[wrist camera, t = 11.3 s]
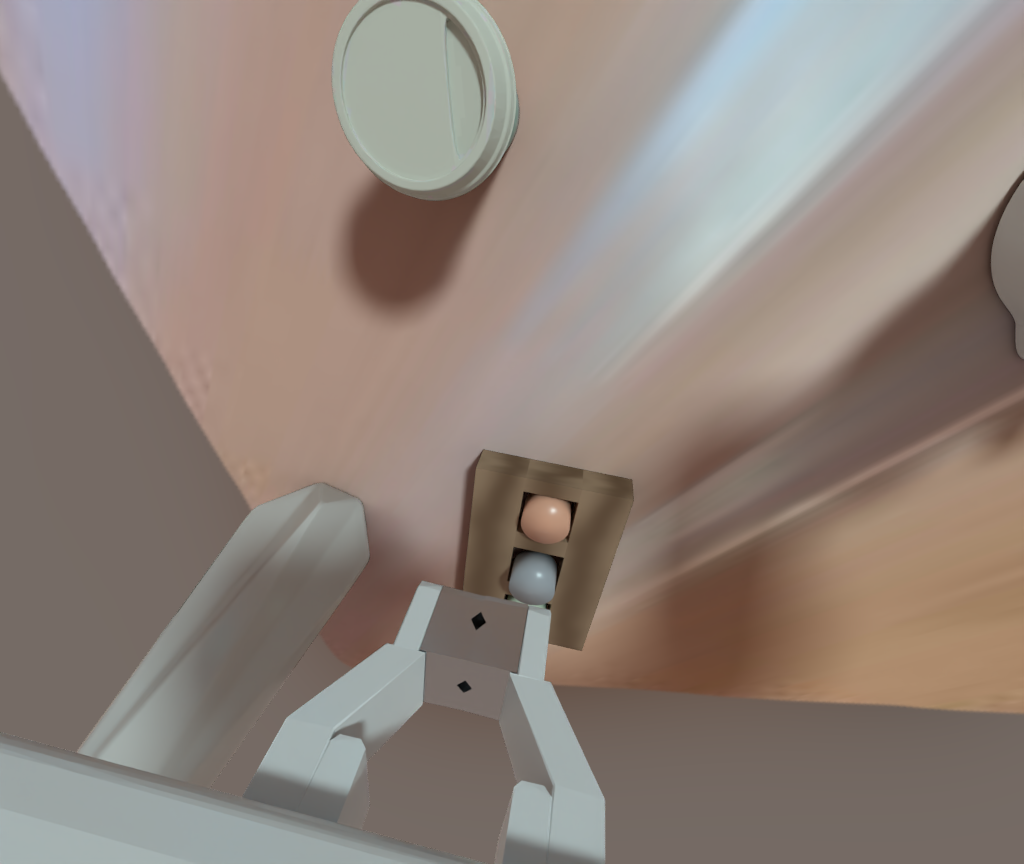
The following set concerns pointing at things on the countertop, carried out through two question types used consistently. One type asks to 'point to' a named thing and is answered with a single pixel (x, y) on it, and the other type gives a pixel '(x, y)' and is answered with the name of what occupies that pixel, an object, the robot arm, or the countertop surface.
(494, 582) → the panel
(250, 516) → the white faceted column
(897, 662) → the countertop surface
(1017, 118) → the countertop surface
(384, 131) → the coffee cup
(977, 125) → the countertop surface
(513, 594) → the button grey
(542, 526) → the button terracotta
